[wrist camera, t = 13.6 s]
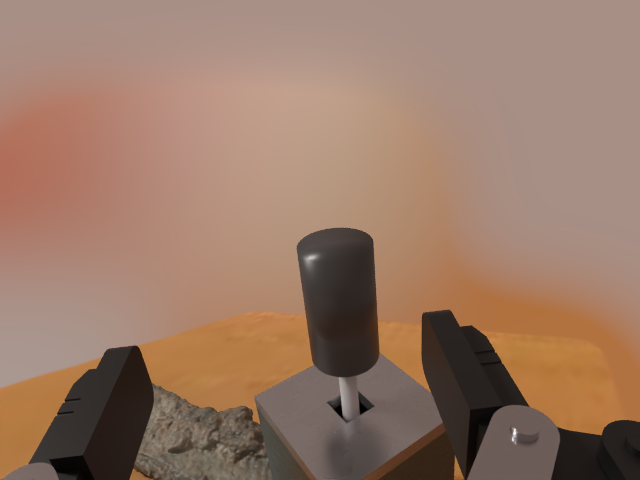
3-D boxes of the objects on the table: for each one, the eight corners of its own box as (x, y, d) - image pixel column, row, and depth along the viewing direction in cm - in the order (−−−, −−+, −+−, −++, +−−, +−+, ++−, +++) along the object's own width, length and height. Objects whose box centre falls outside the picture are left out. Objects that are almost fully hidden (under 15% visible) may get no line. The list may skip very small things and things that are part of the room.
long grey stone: (122, 377, 64) (55, 432, 57) (108, 348, 62) (36, 400, 55) (336, 470, 45) (276, 569, 38) (327, 432, 43) (261, 530, 36)
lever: (324, 516, 38) (283, 243, 27) (366, 486, 40) (343, 221, 29) (356, 561, 35) (324, 271, 24) (400, 527, 37) (389, 244, 26)
